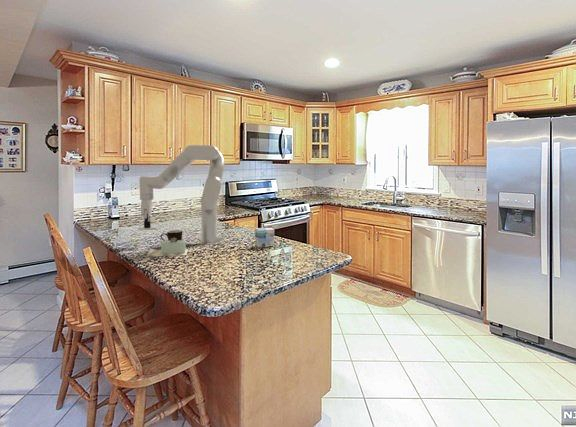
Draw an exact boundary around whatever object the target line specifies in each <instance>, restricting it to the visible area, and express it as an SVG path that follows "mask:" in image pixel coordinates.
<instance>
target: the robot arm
mask: <svg viewBox="0 0 576 427" xmlns="http://www.w3.org/2000/svg"><path fill="white" fill-rule="evenodd" d="M195 161H209V163H210V164H209V170H208V173H207V178H206V180H205V183H204V186H203V191H202V195H201V197H200V214H201V215H200V216H201V218H200V220H201V222H200V223H201V224H200V225H201V229H200V230H201V240H200V241H198V244H199V245H204V244H212V245H213V246H215V245H219V244H220V243H221V242H220V241H225V240H226V239H225V236H224V237H223V236H218V201H219V197H220V193H221V190H222V185H223V184H222V180H223V175H224V170H225V160H224V156H223V155H222V153H221V152H220V151H219V149H218V148H217V147H216V146H215V145H199V144H198V145H197V144H190V145H189V144H188V145H187V146H186V147H185V148H184V149H183V150H182V152H180V153H179V154H178V155H177V156H176V157H174V159H173V160H172V161H171V162H170V163H169V165H168V167H167V168H166V169H164V170H163V172H161V173H160V174H159V175H158V176H150V175H149V176H148V175H141V176H140V177H139V179H138V180H139V200H140V201H141V203H140V216H141V217H143V227H144V228H150V227H152V226H151V225H152V224H151V216H152V215H153V208H152V207H153V206H152V205H153V204H152V201H153V200H154V189H156V190H161V189H164V188H167V186H168V185H170V183H171V182H173V181H174V180H175V179H176V178H177V177H178V176H179V175H181V174H182V173H183V172H184V171H186V169H187V168H188V167H189V166H191V164H192V163H194V162H195Z"/></svg>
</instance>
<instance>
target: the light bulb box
mask: <svg viewBox="0 0 576 427" xmlns="http://www.w3.org/2000/svg"><path fill="white" fill-rule="evenodd" d="M254 230H255V231H254V236H255V238H254V245H255V246H256V247H257V248H269V246H275V229H274V228H273V227H257V228H254Z"/></svg>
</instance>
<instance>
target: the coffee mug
mask: <svg viewBox="0 0 576 427" xmlns="http://www.w3.org/2000/svg"><path fill="white" fill-rule="evenodd" d="M166 232H167V233H161V234H160V238H161V240H162V241H166V240H165V239H164V238H163V237H162V236H163V235H166V237H167V240H171V242H177V240H183V230H180V229H171V230H167V231H166Z"/></svg>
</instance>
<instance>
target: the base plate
mask: <svg viewBox="0 0 576 427" xmlns="http://www.w3.org/2000/svg"><path fill="white" fill-rule="evenodd" d="M187 254H188V248H186V251H185V253H176V254H161V249H150V250H149V251H148V252H147V254H146V257H168V256H170V257H171V256H187Z"/></svg>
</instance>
